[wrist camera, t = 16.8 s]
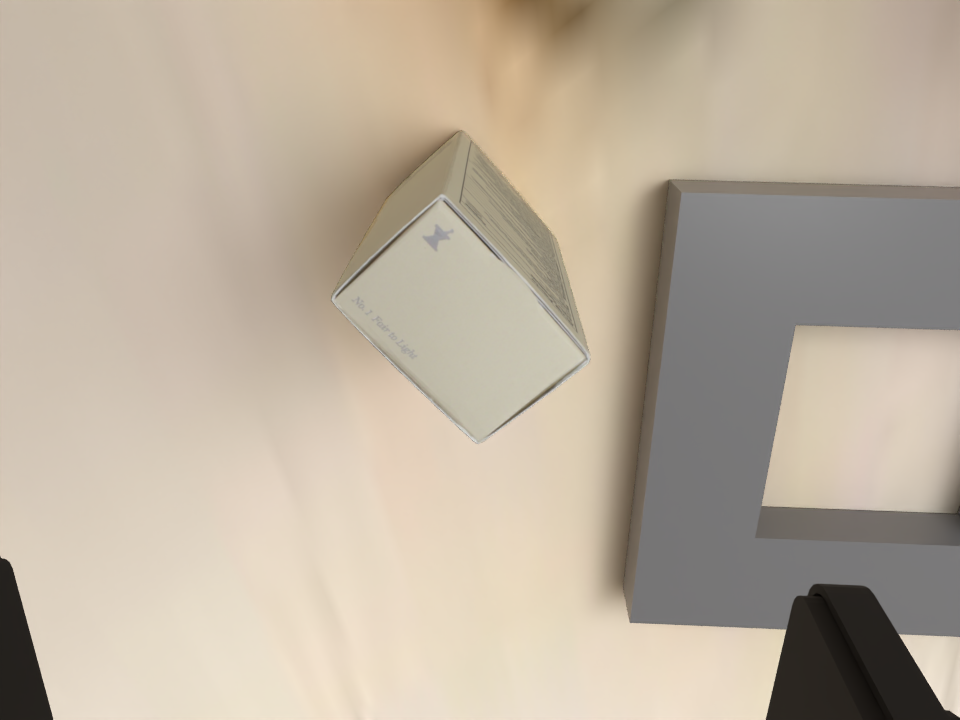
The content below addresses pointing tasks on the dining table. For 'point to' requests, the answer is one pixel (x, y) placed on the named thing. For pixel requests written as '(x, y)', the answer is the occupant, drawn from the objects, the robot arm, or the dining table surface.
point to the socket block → (779, 401)
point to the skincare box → (465, 292)
